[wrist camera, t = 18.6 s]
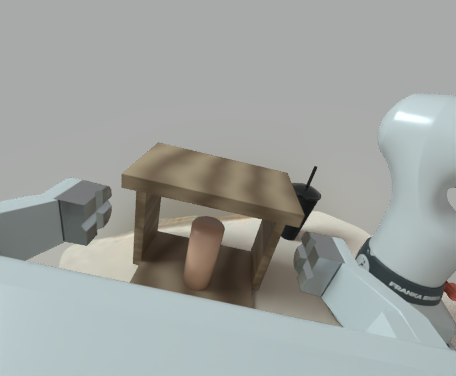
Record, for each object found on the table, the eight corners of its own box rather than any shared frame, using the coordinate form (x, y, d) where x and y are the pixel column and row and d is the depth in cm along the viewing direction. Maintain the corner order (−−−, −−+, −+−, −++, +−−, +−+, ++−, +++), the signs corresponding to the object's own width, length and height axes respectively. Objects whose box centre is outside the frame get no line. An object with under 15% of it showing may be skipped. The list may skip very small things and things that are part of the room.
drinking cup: (268, 233, 61) (295, 163, 52) (278, 221, 67) (304, 157, 58) (295, 248, 58) (329, 177, 49) (304, 234, 64) (335, 169, 55)
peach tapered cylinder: (212, 269, 45) (225, 219, 39) (209, 292, 40) (223, 240, 35) (185, 264, 45) (194, 213, 39) (180, 287, 40) (189, 233, 34)
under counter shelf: (255, 256, 52) (287, 173, 43) (259, 314, 40) (304, 215, 30) (150, 233, 51) (158, 142, 42) (120, 285, 39) (121, 173, 29)
